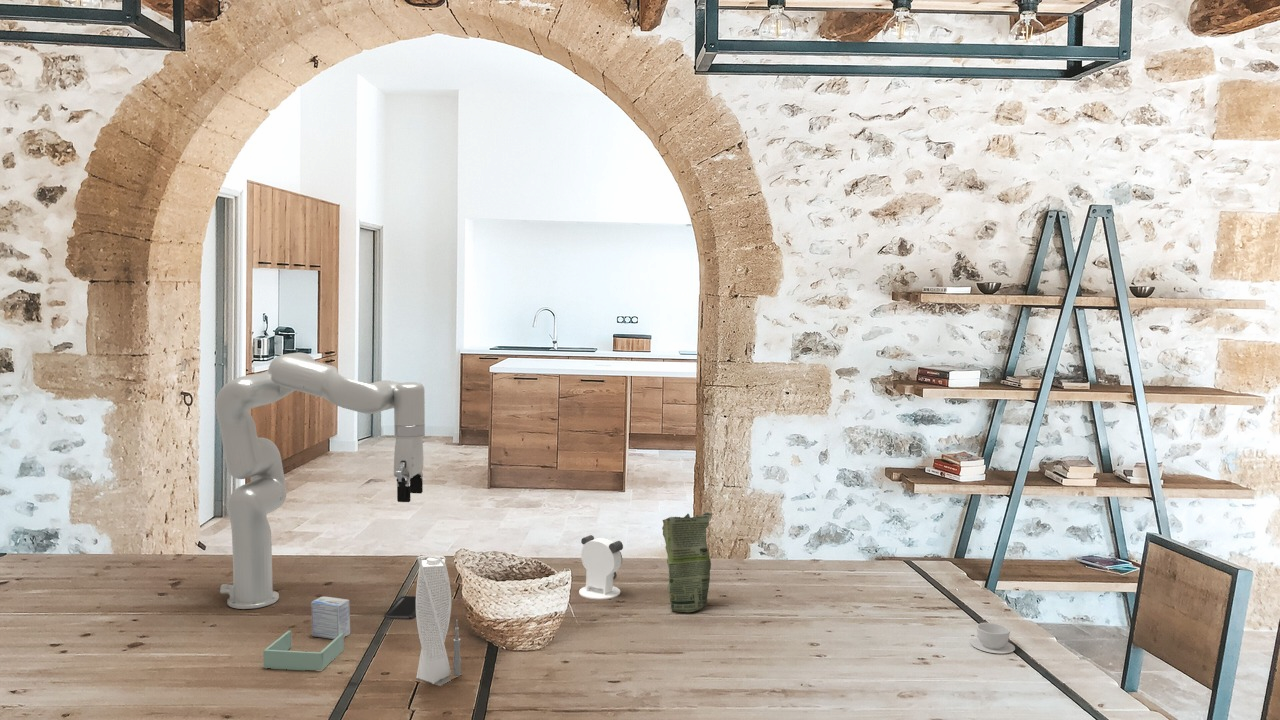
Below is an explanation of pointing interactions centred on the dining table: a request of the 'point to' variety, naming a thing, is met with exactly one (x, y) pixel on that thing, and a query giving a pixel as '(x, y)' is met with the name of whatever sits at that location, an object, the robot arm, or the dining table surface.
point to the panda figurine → (600, 567)
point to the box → (300, 655)
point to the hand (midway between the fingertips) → (410, 497)
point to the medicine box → (330, 617)
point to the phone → (403, 609)
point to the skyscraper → (435, 621)
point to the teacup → (993, 638)
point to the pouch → (687, 561)
